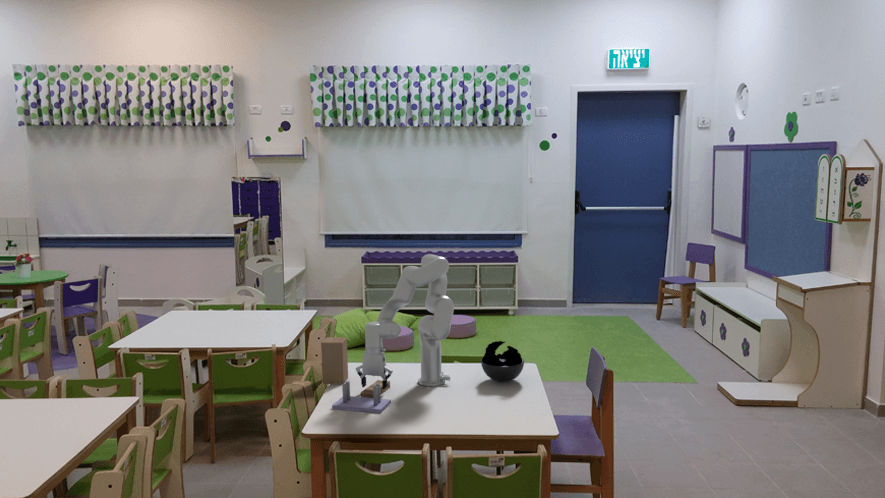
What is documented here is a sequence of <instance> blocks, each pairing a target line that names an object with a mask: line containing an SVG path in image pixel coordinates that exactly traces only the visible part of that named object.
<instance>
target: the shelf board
mask: <svg viewBox="0 0 885 498" xmlns="http://www.w3.org/2000/svg"><path fill="white" fill-rule="evenodd" d="M382 381H383V379H382V380H381V379H377V380H376V381H375V382H373V383H372V384H370V385H369V386H368V387H366V388H365V389H363V390H362V391H361V392H360V393H359V394H360V397H366V398H373V386H376V384H380V394H381V395H382V394H384V393H385V392H386V391H388V390H389V389H391V380H387V387H386V388H385V389H382Z"/></svg>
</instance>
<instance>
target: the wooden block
mask: <svg viewBox="0 0 885 498" xmlns="http://www.w3.org/2000/svg"><path fill="white" fill-rule="evenodd" d="M320 348H321V375H322V384H323V385H342V384H345V382H346V381H348V379H349V362H348V338H347V337H342V336H341V337H338V336H337V337H335V336H332V337H330V336H326V337H325V339H323V340H322V342H321V343H320Z"/></svg>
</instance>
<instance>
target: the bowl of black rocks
mask: <svg viewBox="0 0 885 498" xmlns="http://www.w3.org/2000/svg"><path fill="white" fill-rule="evenodd" d="M505 343H506V341H503V340H496V341H493V342H491V343H489V344H488V345H487V346H486V348H485V352H484V355H483V357H482V358H481V360H480V365H481V368H482V370H483V372H484V373H485V375H486V376H487V377H489V379H491V380H492V381H495V382H497V383H508V382H511V381H514V380H515V379H517V378H518V377H519V376H520V374H521V373H522V371H523V369H524V367H525V366H524V365H525V359H524V358H522V354H521V353H520V352H519V350H518V349H517V348H515V347H513V346H511V345H507V346H506V348H507V350H505V351H503V352H502V353H497V350H498V349H499V348H500V346H502V345H503V344H505ZM496 353H497V354H496Z"/></svg>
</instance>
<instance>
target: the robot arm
mask: <svg viewBox="0 0 885 498" xmlns="http://www.w3.org/2000/svg"><path fill="white" fill-rule="evenodd" d="M449 263H450V262H449V260H448V259H447V258H445V257H443V256H439V255H436V254H432V253H431V254H430V253H428V254H425V255H424V256H422V258H421V261H420V264H421V266H415V265H407V266H405V267H404V269H403V270H402V272H401V274H400V277H399V278H398V282H397V284H396V286H395V288H394V292H393V294H392V296H391V297H390V298H389V299H388V300H387V302H386V303H384V305H383V307H382V308H381V310H380V312H379V314H378V317H377V319H376V321H369V322H367V323H366V324H365V326H364V327H365V329H364V332H365V334H364V335H365V341H364V342H365V345H364V346H365V351H364V352H363V353H364V354H363V356H362V364H361V365H358V366H356V367H355V371H356V373H357V375H358V376H359V377H360V381H361V383H360V384H361V387H362V388H365V387H366V386H367V377H366V376H374V377H381V379H382V380H383V381H382V389H385V388H386V387H387V381H388V379H389V378H390V377H392V374H393V369H391V368H389V367H388V366H387V360H386V355H385V352H386V348H384V346H383V339H390V340H391V339H396V338H398V336H400V335H401V332H402V331H401V330H402V328H401V325H400V324H398V323H397V322H396V321H394V318H395V316H396V315H397V312H399V310H401V309H403V308H404V307H406V306H408V305H410V304H411V301H412V299H413V296H414V293H416V292H415V291H416V289H417V288H421V287H425V286H427V285H428V287H427V293H426V297H425V303H424V306H425V309H426V311H428V312H429V313H432V314H433V315H429V314H428V315H427V314H426V315H424V316H422V317H421V318H420V320H419V321H418V326H417V327H418V334H419V336H418V337H419V342H420V376H421V377H419V378H418V379H417V384H419V385H420V386H424V387H438V386H441V385H444V384H445V383H446V381H449V382H450V381H451V376H450V375H449V374H444V371H442V342H441V341H444V340H445V339H447V337H448V336H449V334H450V331H451V329H452V328H451V326H452V321H453V316H454V312H455V311H454V310H455V306H454V302H453V300H452V299H451V298H450V297H449V296H447V291H448V290H447V288H448V276H447V273H448V271H449V269H450V264H449ZM386 373H388V374H386Z"/></svg>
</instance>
